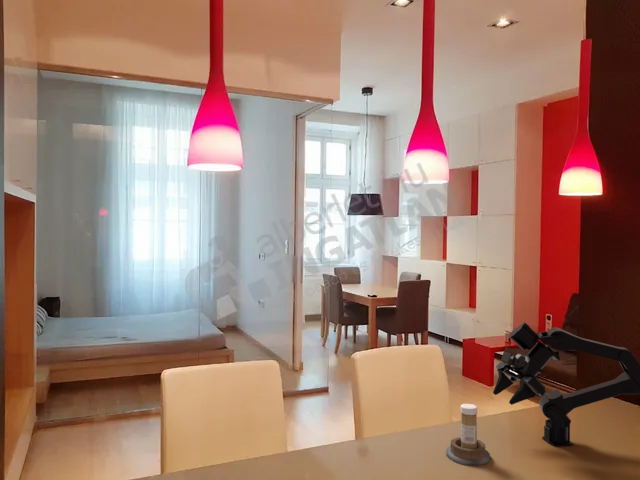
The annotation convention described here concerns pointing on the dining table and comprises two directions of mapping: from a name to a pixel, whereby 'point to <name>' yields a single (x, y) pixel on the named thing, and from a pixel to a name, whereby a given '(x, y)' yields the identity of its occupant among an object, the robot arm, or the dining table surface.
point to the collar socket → (467, 453)
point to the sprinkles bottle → (469, 426)
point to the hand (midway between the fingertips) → (501, 398)
